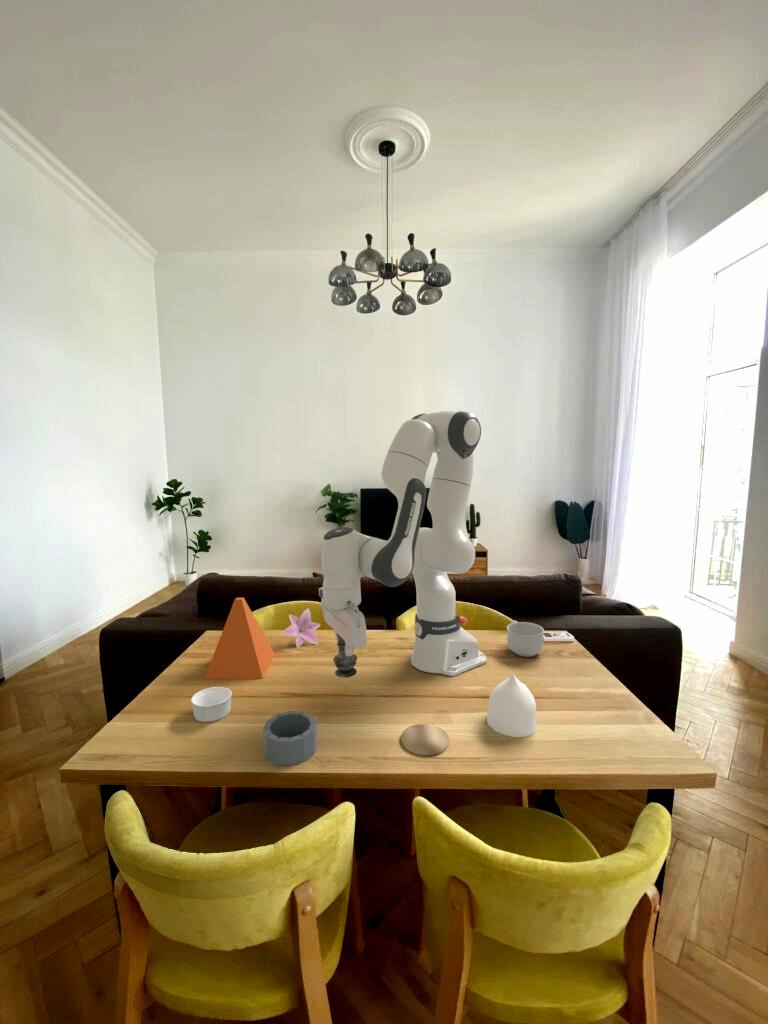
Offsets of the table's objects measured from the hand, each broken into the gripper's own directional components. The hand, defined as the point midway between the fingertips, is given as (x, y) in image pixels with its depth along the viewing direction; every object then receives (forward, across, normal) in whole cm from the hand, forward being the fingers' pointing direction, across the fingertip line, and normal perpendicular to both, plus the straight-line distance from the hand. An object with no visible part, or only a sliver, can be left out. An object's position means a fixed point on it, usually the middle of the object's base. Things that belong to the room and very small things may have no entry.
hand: (345, 651), depth 109 cm
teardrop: (+14, -25, -30) cm, 41 cm away
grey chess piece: (+6, 0, 0) cm, 6 cm away
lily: (+13, +39, 0) cm, 41 cm away
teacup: (+16, +3, -59) cm, 62 cm away
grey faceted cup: (+12, -12, +18) cm, 24 cm away
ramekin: (+12, +9, +30) cm, 34 cm away
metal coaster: (+13, -22, -9) cm, 27 cm away
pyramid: (+12, +31, +20) cm, 39 cm away
